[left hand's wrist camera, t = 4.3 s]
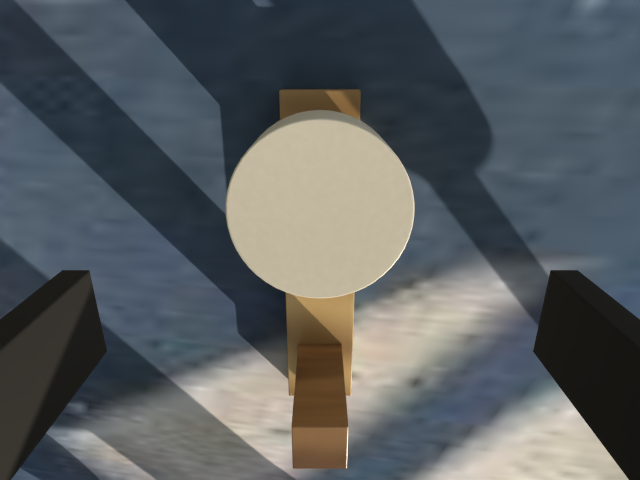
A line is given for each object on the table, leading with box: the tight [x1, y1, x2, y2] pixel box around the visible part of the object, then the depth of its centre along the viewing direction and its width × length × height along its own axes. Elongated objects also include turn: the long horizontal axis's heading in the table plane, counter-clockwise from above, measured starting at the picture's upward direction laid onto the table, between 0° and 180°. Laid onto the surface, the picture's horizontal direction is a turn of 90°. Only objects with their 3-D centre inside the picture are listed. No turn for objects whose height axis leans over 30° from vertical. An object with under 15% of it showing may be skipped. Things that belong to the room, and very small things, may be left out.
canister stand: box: [279, 89, 361, 468], centre depth 33 cm, size 28×7×12 cm, turn 0°
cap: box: [226, 110, 414, 298], centre depth 23 cm, size 9×9×4 cm
